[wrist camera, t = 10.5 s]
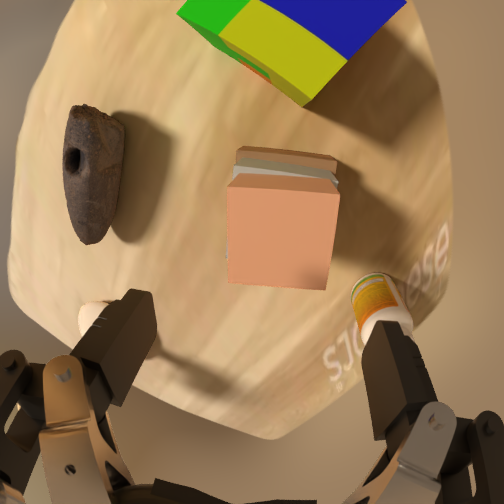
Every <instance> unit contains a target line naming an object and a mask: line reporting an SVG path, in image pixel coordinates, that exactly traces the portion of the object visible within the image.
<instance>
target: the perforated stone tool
mask: <svg viewBox="0 0 504 504" xmlns="http://www.w3.org/2000/svg"><path fill="white" fill-rule="evenodd" d="M124 139H125V133H124V126H123V125H122V124H121V123H119V122H118V121H117V120H115V119H113V118H112V117H110V116H109V115H107V114H106V113H103V112H100V111H99V110H98V109H96V108H95V107H91V106H87V105H86V104H83V105H82V106H79V105H78V106H77V105H75V106H72V108H71V110H70V113H69V118H68V121H67V126H66V131H65V138H64V148H63V182H64V190H65V196H66V200H67V208H68V212H69V215H70V219H71V222H72V225H73V228H74V230H75V232H76V234H77V236H78V237H79V239H80V241H81V242H83V243H84V244H85V245H90V244H95V243H98V242H100V241H101V240H102V239H103V237H104V236H105V235H106V233H107V231H108V229H109V227H110V225H111V222H112V219H113V217H114V213H115V210H116V205H117V199H118V192H119V185H120V176H121V168H122V161H123V153H124Z"/></svg>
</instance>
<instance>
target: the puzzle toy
mask: <svg viewBox="0 0 504 504" xmlns="http://www.w3.org/2000/svg"><path fill="white" fill-rule="evenodd" d="M406 3H407V2H406V1H405V0H187V1H186V3H185V4H184V5H183V6H182V7H181V8H180V9H179V11H178V12H177V13H176V14H177V15H178V16H180V17H181V18H182V19H183V20H185V21H186V22H187V23H188V24H189V25H190V26H192V27H193V28H194V29H195V30H196V31H197V32H199V33H200V34H201V35H202V36H203V37H204V38H205V39H206V40H208V41H209V42H210V43H211V44H212V45H213V46H214V47H216V48H217V49H219V50H221V51H222V52H224V53H226V54H227V55H229V56H230V57H232V58H234V59H235V60H237V61H238V62H240V63H241V64H243V65H244V66H246V67H247V68H249V69H250V70H252V71H253V72H255V73H256V74H258V75H259V76H261V77H262V78H264V79H265V80H266V81H268V82H269V83H271V84H272V85H273V86H275V87H276V88H277V89H279V90H280V91H281V92H283V93H284V94H285V95H287V96H288V97H289V98H291V99H292V100H293V101H294V102H296V103H297V104H298V105H300V106H301V107H303V106H304V105H306V104H307V103H308V102H309V101H311V100H312V99H313V98H314V97H315V96H316V94H317V93H318V92H319V91H320V90H321V89H322V88H323V87H324V86H325V85H326V84H327V82H328V81H329V80H330V79H331V78H332V77H333V76H334V75H335V74H336V73H337V72H338V71H339V70H340V68H341V67H342V66H343V65H344V64H345V63H346V62H347V61H348V60H349V59H350V58H351V57H352V56H353V55H354V54H355V53H356V52H357V51H358V50H359V49H360V48H361V47H362V46H363V45H364V44H365V43H366V42H367V41H368V40H369V39H370V38H371V37H372V36H373V35H374V34H375V33H376V32H377V31H378V30H379V29H380V28H381V27H382V26H383V25H384V24H385V23H386V22H387V21H388V20H389V19H390V18H391V17H392V16H393V15H394V14H395V13H396V12H397V11H398V10H399V9H400V8H402V7H403V6H404V5H405V4H406Z"/></svg>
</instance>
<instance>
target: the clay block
mask: <svg viewBox="0 0 504 504" xmlns="http://www.w3.org/2000/svg"><path fill="white" fill-rule="evenodd" d="M339 201H340V194H339V192H338V191H337V189H336V188H335V186H334V185H333V183H332V182H331V180H330V179H323V178H312V177H300V176H287V175H272V174H253V173H239V174H238V175H237V176H236V177H235V178H234V179H233V181H232V182H231V183H230V184H229V185H228V187H227V233H228V283H235V284H247V285H259V286H271V287H284V288H298V289H313V290H326V285H327V279H328V274H329V268H330V262H331V256H332V250H333V244H334V237H335V231H336V224H337V216H338V209H339Z"/></svg>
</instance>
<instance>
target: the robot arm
mask: <svg viewBox="0 0 504 504" xmlns="http://www.w3.org/2000/svg"><path fill="white" fill-rule="evenodd" d="M156 333H157V321H156V316H155V310H154V303H153V297H152V294H151V293H150V292H148V291H142V290H137V289H129V290H128V291H127V293H126V294H125V295H124V297H123V298H122V299H121V300H115V301H114V302H112V303H110V304H109V305H107V306H106V307H105V308H104V309H103V311H102V312H101V313H100V314H99V316H98V318H96V320H95V321H94V322H93V323H92V326H90V327H89V329H88V330H87V331H86V333H85V334H84V335H83V337H82V338H81V340H80V341H79V342H78V344H77V345H76V346H75V348H74V349H73V351H72V352H71V353H70V354H69V355H60V356H57V357H54V358H53V359H51V360H50V361H49V362H48V363H47V364H37V363H28V361H27V359H26V358H25V356H24V354H23V353H22V352H20V351H18V350H10V351H7V352H5V353H3V354H2V355H1V356H0V504H26V503H25V500H24V498H23V494H24V492H25V489H26V486H27V483H28V481H29V478H30V476H31V473H32V471H33V468H34V465H35V463H36V461H37V459H38V456H39V454H40V452H41V455H42V461H43V467H44V471H45V476H46V481H47V485H48V489H49V493H50V497H51V501H52V504H231V503H228V502H225V501H223V500H220V499H218V498H215V497H213V496H210V495H208V494H206V493H203V492H201V491H199V490H197V489H194V488H191V487H187V486H182V485H179V484H174V483H170V482H167V481H163V480H160V479H157V478H155V481H154V484H139V485H135V483H134V481H133V478H132V476H131V474H130V472H129V470H128V468H127V466H126V464H125V463H124V461H123V459H122V457H121V454H120V451H119V448H118V445H117V443H116V439H115V436H114V433H113V429H112V426H111V423H110V419H109V416H108V413H107V409H108V407H109V405H110V404H113V405H116V406H119V407H121V406H122V404H123V402H124V400H125V398H126V396H127V393H128V391H129V389H130V387H131V385H132V383H133V381H134V379H135V377H136V375H137V373H138V371H139V369H140V367H141V365H142V363H143V361H144V359H145V357H146V355H147V353H148V351H149V349H150V347H151V346H152V344H153V342H154V340H155V337H156ZM421 357H422V356H421V354H420V351H419V349H418V346H417V345H416V343H415V342H414V341H413V340H412V339H411V338H410V337H409V336H408V335H404V333H403V331H402V329H401V326H400V324H399V322H398V321H388V320H378V321H376V323H375V325H374V327H373V330H372V332H371V334H370V336H369V339H368V341H367V343H366V345H365V348H364V350H363V353H362V361H361V363H362V370H363V375H364V380H365V385H366V391H367V396H368V402H369V407H370V414H371V420H372V426H373V432H374V440H375V441H377V440H386V443H387V446H386V447H385V448H384V449H383V451H382V453H381V454H380V456H379V457H378V459H377V460H376V462H375V463H374V465H373V467H372V468H371V469H370V471H369V472H368V474H367V475H366V477H365V478H364V480H363V481H362V482H361V484H360V485H359V486H358V488H357V489H356V490H355V491H354V492H353V493H352V494H351V495H350V496H349V497H348V498H347V499H346V500H345V501H344V502H343V503H342V504H434V502H435V504H504V424H503V422H502V420H501V418H500V417H499V416H498V415H497V414H496V413H494V412H492V411H484V412H482V413H480V414H479V415H478V416H477V417H476V418H475V419H474V420H472V419H466V418H459V417H456V416H455V414H454V412H453V410H452V409H451V408H450V407H449V406H448V405H446V404H444V403H442V402H438V400H437V397H436V394H435V391H434V388H433V385H432V383H431V380H430V377H429V374H428V372H427V369H426V368H425V364H424V361H423V359H421ZM16 403H18V404H19V405H20V406H21V407H20V409H19V411H18V413H17V414H16V416H15V418H14V420H13V422H12V424H11V425H10V427H9V429H8V432H7V433H6V434H5V432H4V426H5V423H6V421H7V419H8V417H9V415H10V414H11V412H12V410H13V408H14V406H15V405H16ZM471 464H473V469H474V475H475V481H476V493H475V496H474V497H472V490H471V483H470V476H469V470H468V466H469V465H471ZM246 504H317V500H271V501H264V502H255V503H246Z"/></svg>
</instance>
